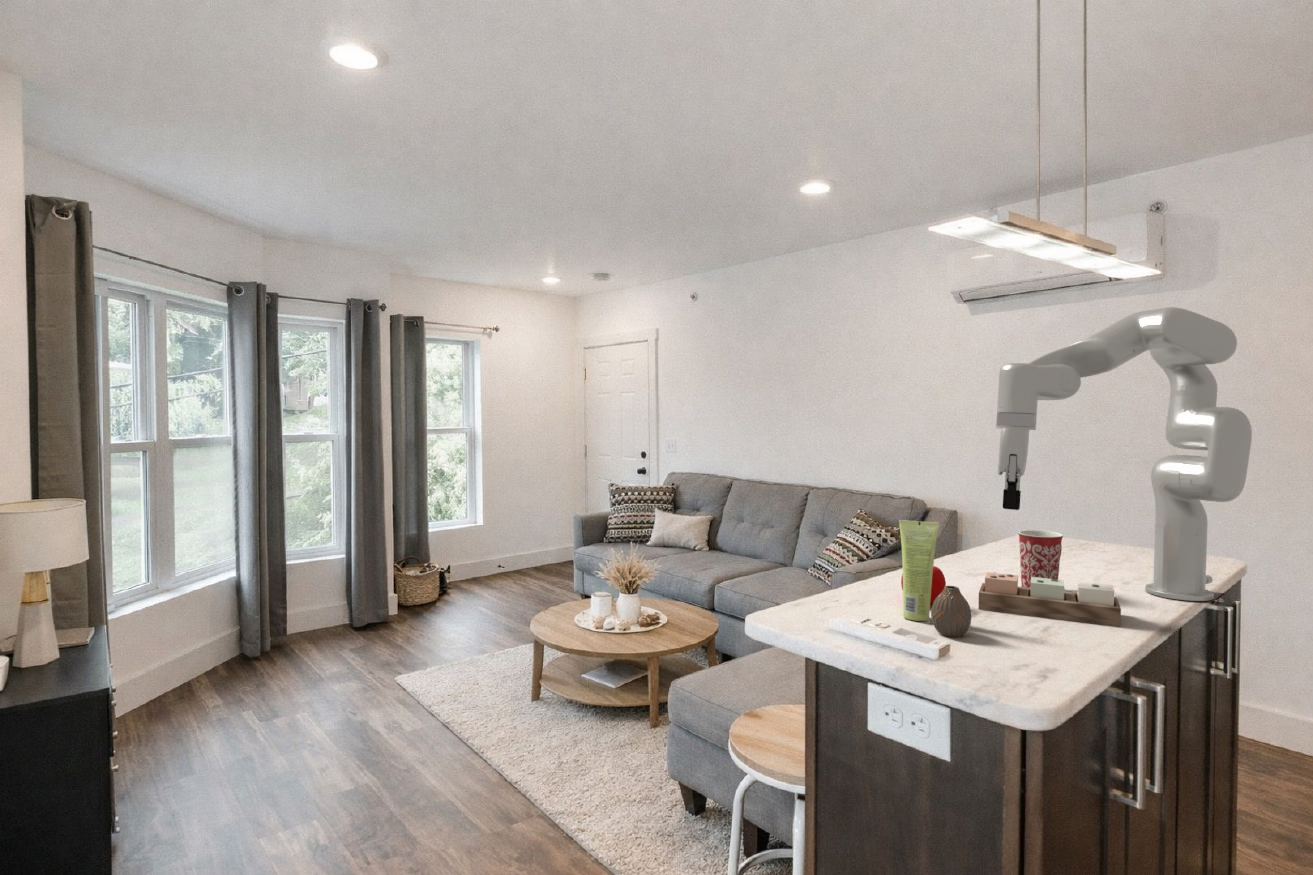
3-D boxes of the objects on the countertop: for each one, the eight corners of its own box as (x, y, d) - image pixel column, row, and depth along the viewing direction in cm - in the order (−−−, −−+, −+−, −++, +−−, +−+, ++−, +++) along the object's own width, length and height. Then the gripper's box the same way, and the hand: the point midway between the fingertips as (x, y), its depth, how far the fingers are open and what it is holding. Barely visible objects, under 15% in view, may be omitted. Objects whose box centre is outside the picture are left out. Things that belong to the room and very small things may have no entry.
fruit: (955, 606, 153) (956, 559, 153) (923, 611, 149) (924, 563, 149) (921, 595, 161) (922, 551, 161) (891, 600, 157) (891, 555, 157)
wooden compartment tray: (1116, 613, 147) (1116, 596, 147) (1120, 626, 138) (1120, 608, 138) (982, 598, 159) (982, 582, 159) (978, 609, 150) (978, 592, 150)
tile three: (1017, 589, 154) (1018, 574, 154) (1016, 595, 149) (1016, 580, 148) (986, 586, 157) (987, 571, 157) (984, 592, 151) (985, 576, 151)
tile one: (1111, 599, 146) (1111, 583, 146) (1113, 606, 140) (1114, 590, 140) (1077, 595, 149) (1077, 580, 148) (1078, 602, 143) (1078, 586, 143)
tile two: (1063, 594, 150) (1063, 578, 150) (1063, 600, 145) (1064, 584, 144) (1030, 590, 153) (1031, 575, 153) (1030, 597, 147) (1030, 581, 147)
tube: (920, 613, 147) (921, 518, 146) (937, 620, 142) (939, 522, 141) (897, 616, 145) (898, 519, 144) (914, 623, 140) (916, 523, 140)
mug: (1047, 598, 159) (1048, 537, 159) (1008, 589, 167) (1010, 531, 167) (1078, 591, 166) (1080, 533, 165) (1040, 583, 174) (1041, 527, 173)
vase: (924, 628, 137) (925, 582, 136) (959, 627, 137) (960, 582, 137) (941, 640, 130) (942, 591, 130) (978, 639, 130) (979, 591, 130)
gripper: (998, 422, 160) (993, 504, 161) (994, 420, 147) (989, 510, 147) (1036, 423, 156) (1031, 507, 157) (1035, 422, 143) (1030, 514, 144)
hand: (1011, 508), depth 152 cm, fingers closed
